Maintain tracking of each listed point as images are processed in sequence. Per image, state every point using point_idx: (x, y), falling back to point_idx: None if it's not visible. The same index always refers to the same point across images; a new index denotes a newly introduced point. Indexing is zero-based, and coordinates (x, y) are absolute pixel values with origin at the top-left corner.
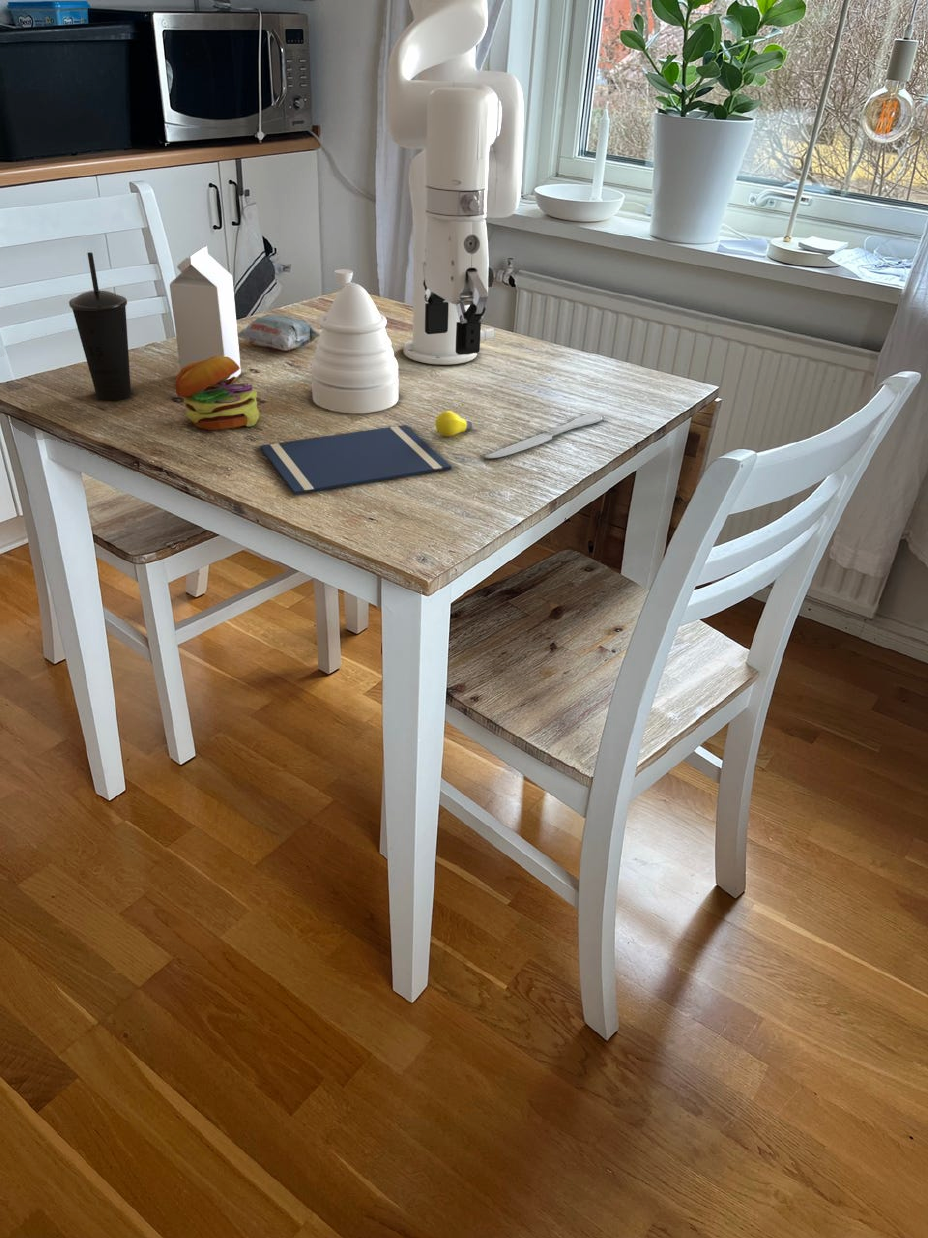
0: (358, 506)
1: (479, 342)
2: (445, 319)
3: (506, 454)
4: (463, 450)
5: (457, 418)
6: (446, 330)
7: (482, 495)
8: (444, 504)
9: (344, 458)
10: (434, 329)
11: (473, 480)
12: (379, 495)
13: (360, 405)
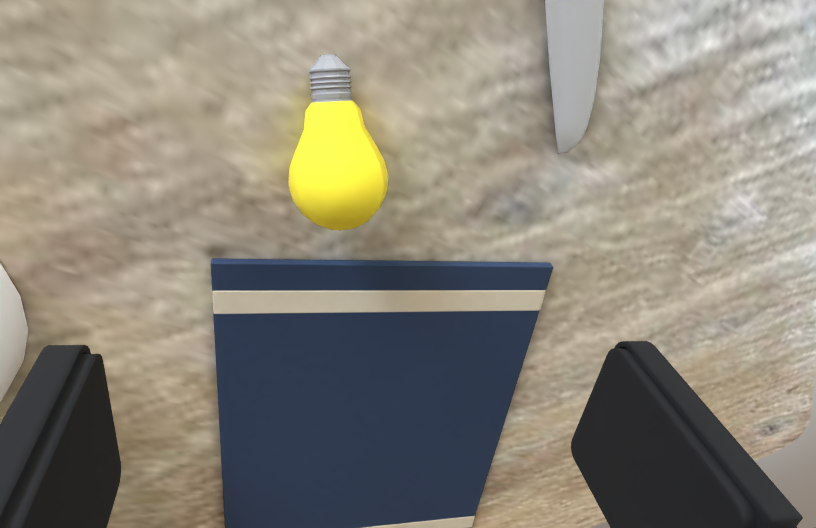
0: (568, 465)
1: (683, 383)
2: (70, 451)
3: (594, 77)
4: (466, 174)
5: (373, 169)
6: (98, 363)
7: (702, 259)
8: (671, 342)
9: (373, 453)
10: (105, 457)
11: (634, 242)
12: (556, 428)
13: (15, 359)
